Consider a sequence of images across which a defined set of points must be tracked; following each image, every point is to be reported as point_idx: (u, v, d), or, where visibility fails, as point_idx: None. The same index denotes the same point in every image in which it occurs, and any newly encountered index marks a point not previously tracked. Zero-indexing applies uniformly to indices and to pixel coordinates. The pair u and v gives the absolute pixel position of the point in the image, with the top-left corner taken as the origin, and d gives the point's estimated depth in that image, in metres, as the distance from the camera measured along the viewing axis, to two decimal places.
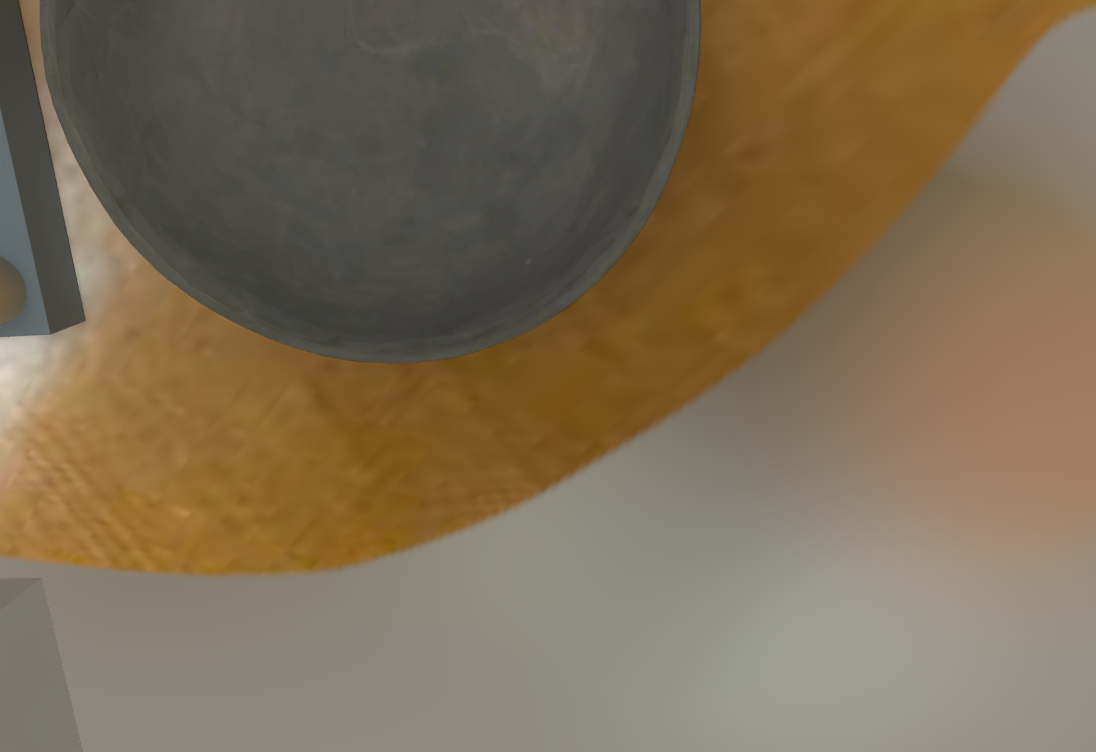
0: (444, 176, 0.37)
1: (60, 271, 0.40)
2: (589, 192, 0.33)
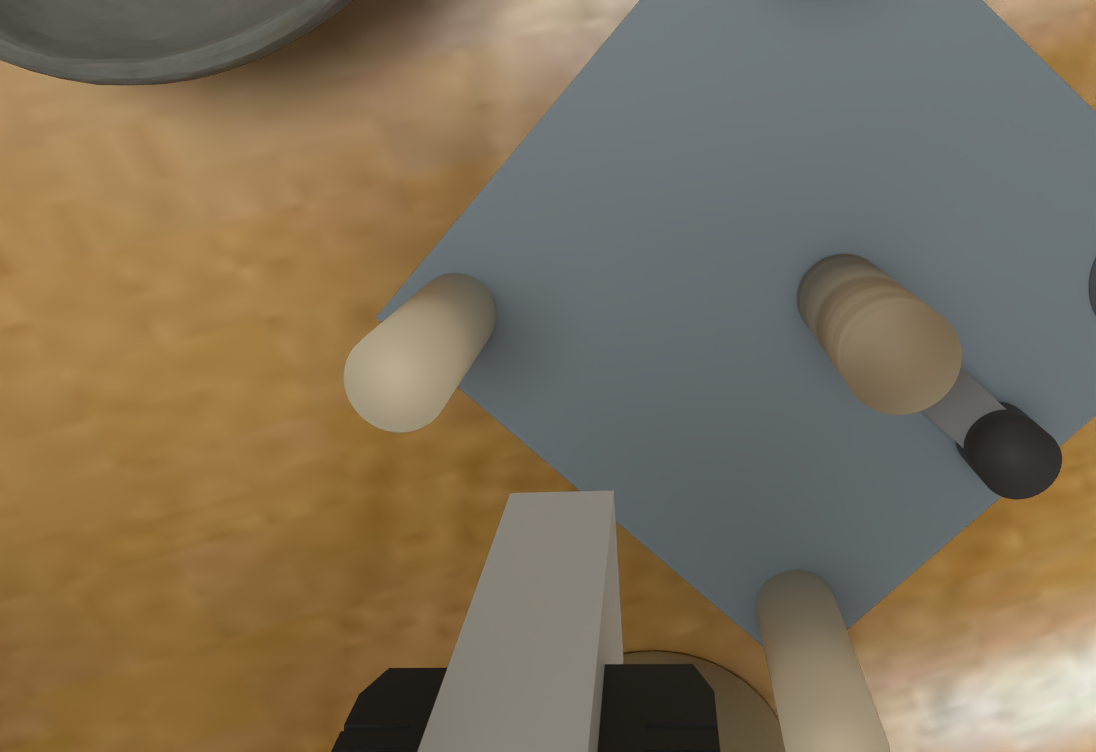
0: None
1: None
2: None
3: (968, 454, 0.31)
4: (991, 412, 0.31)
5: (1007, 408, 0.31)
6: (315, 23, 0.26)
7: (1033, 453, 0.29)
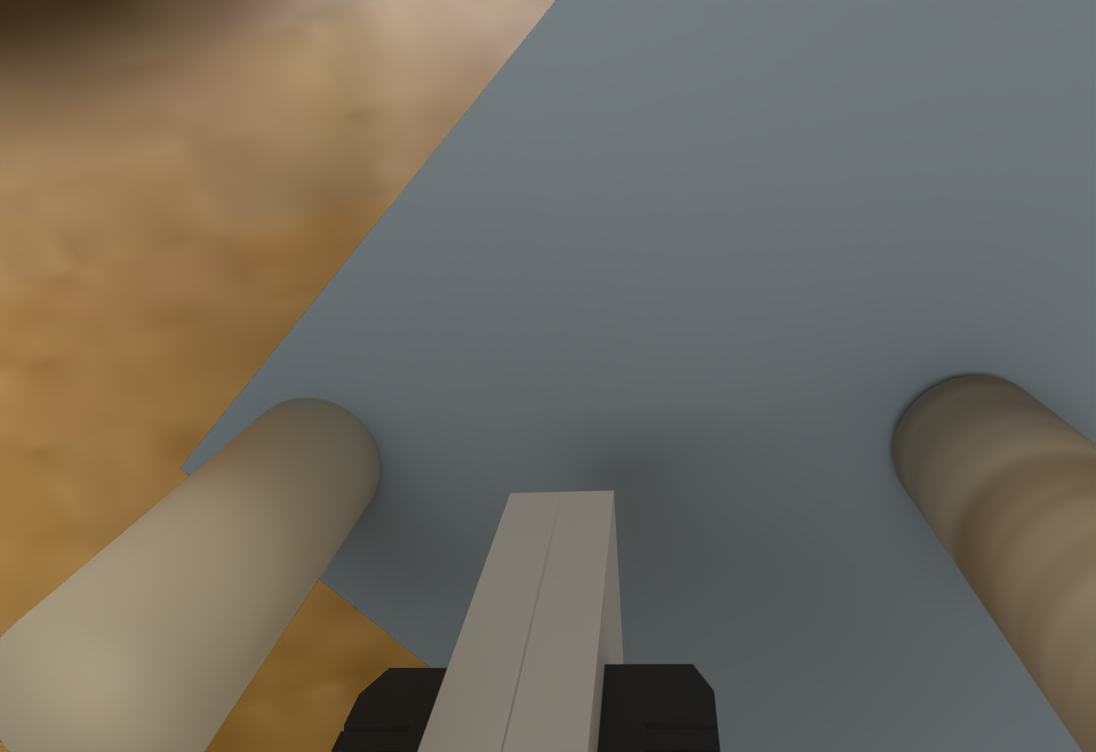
0: None
1: None
2: None
3: None
4: None
5: None
6: None
7: None
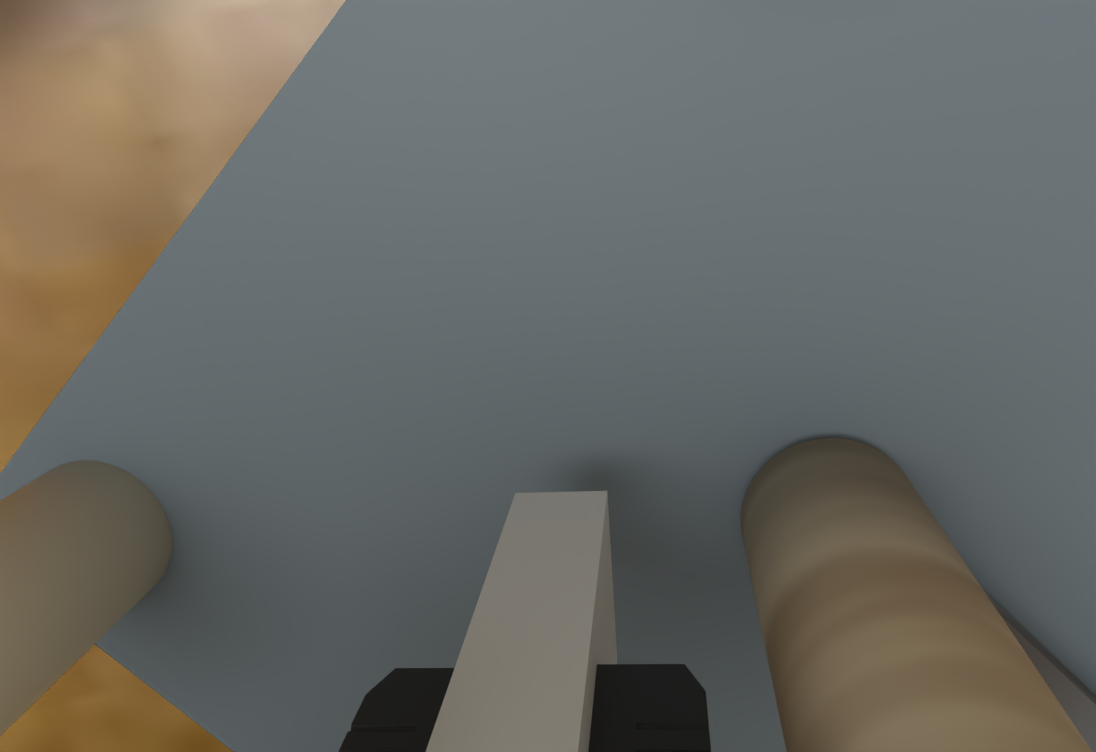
0: None
1: None
2: None
3: None
4: None
5: None
6: None
7: None
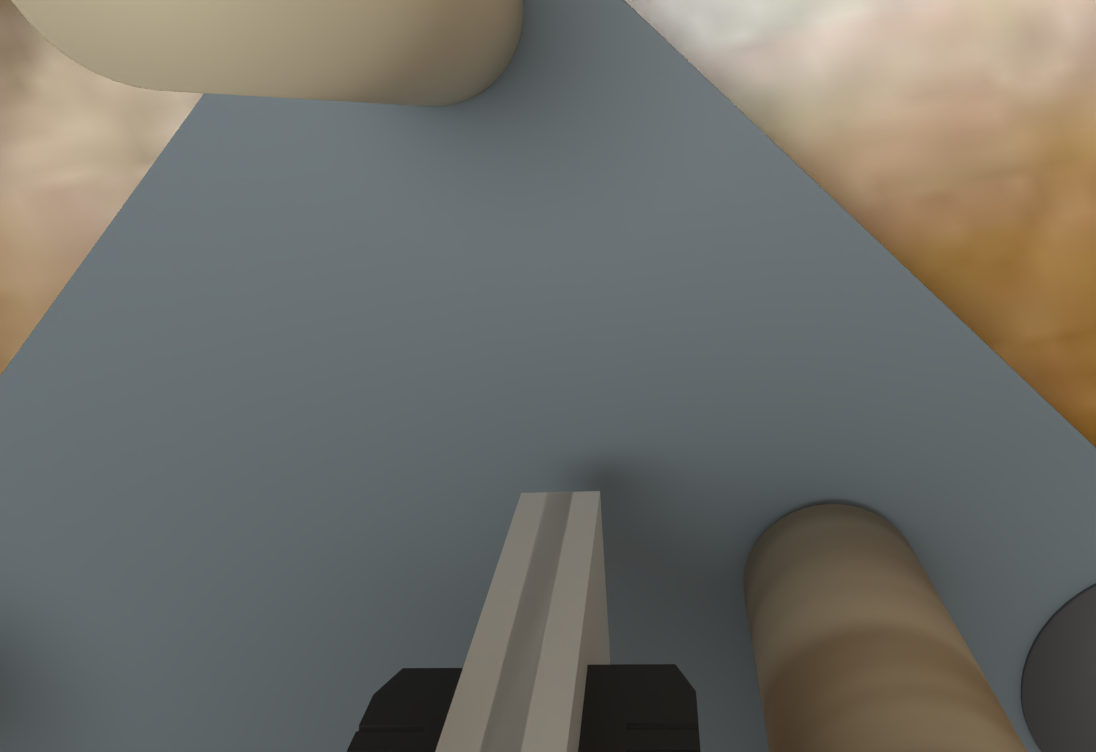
0: None
1: None
2: None
3: None
4: None
5: None
6: None
7: None
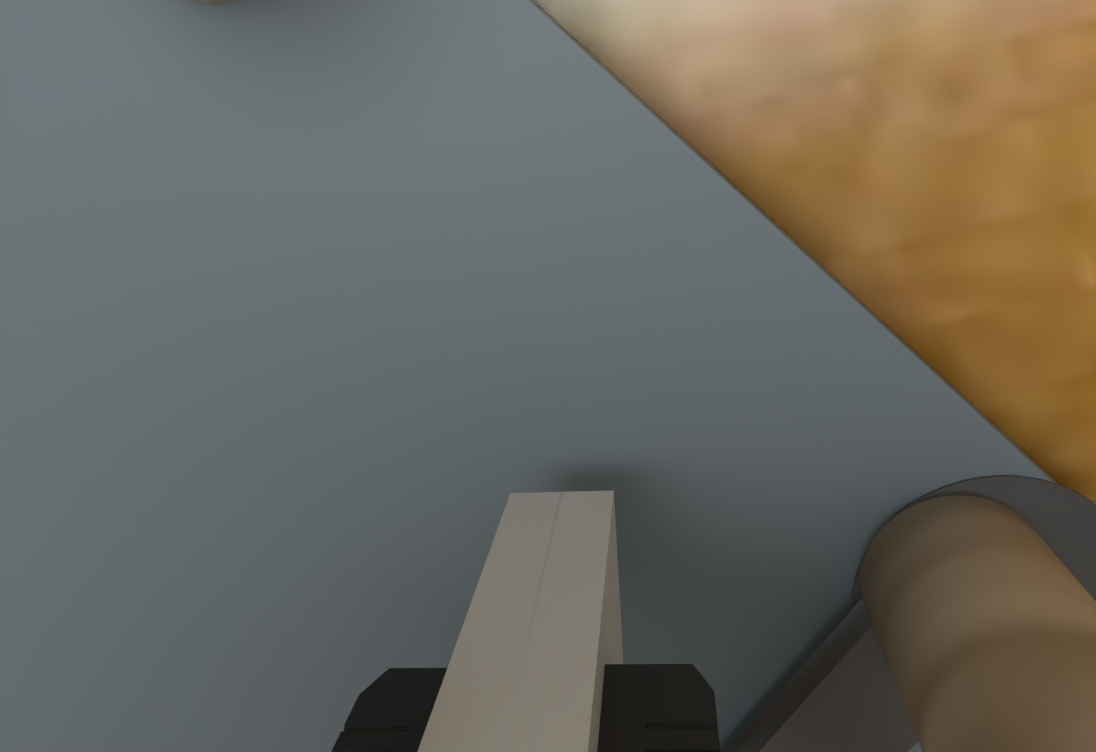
0: None
1: None
2: None
3: None
4: None
5: None
6: None
7: None
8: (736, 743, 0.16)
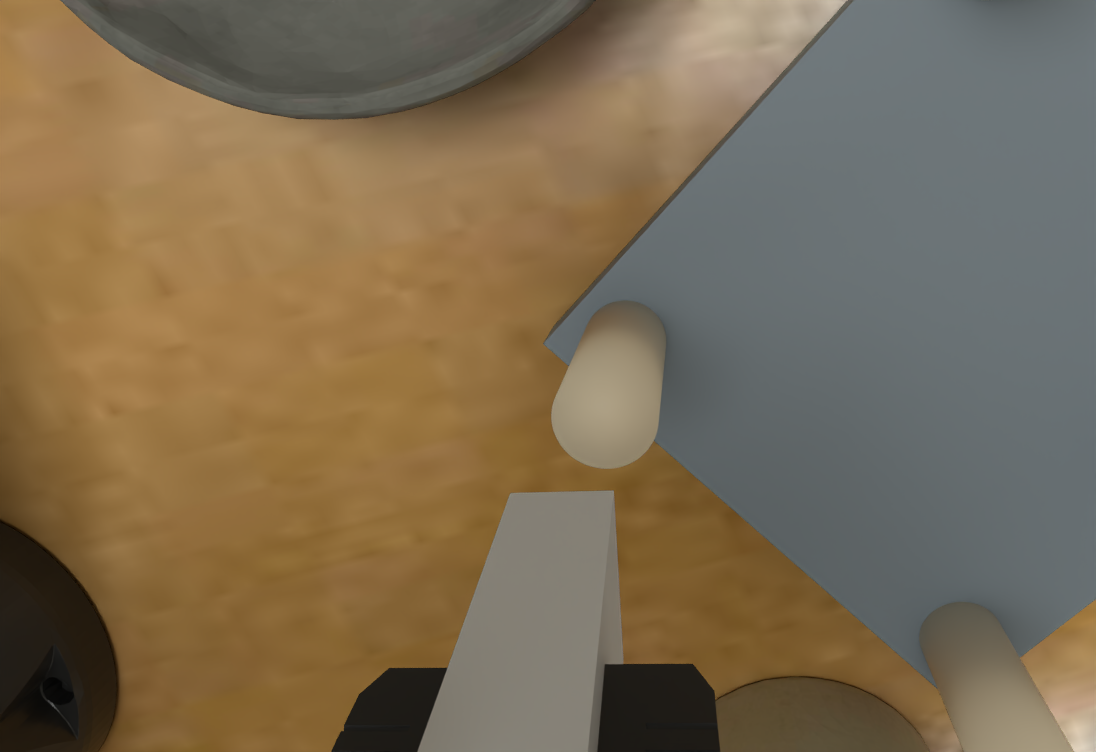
0: None
1: None
2: None
3: None
4: None
5: None
6: (520, 58, 0.26)
7: None
8: None
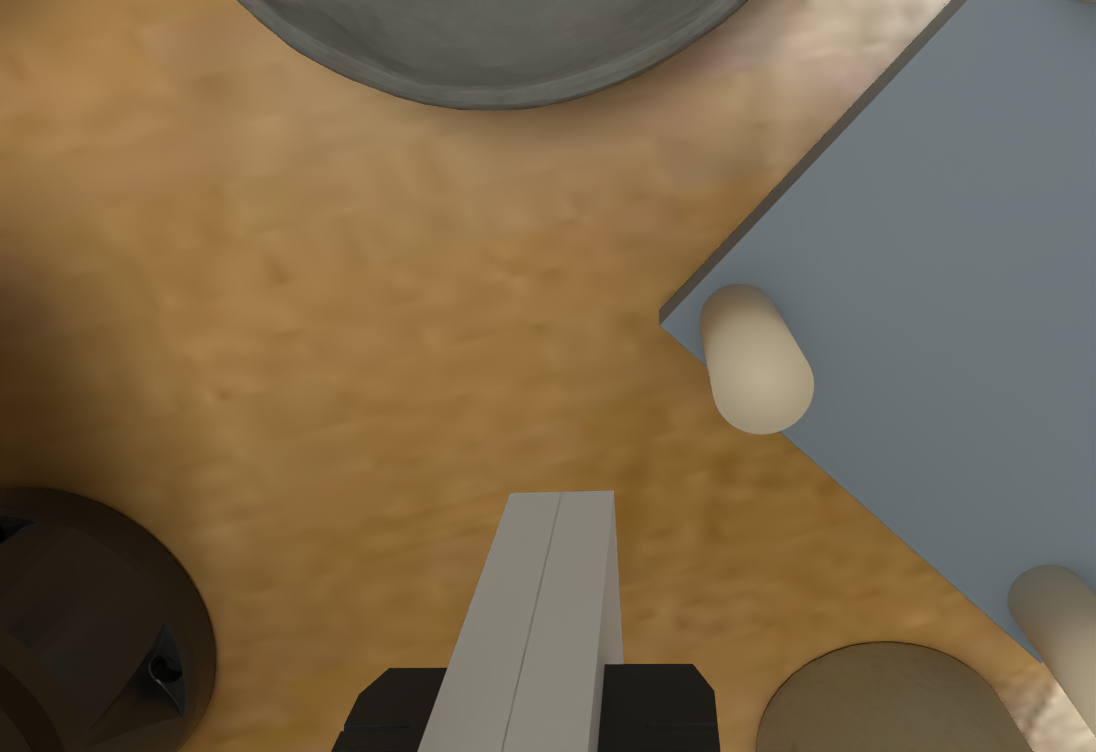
0: None
1: None
2: None
3: None
4: None
5: None
6: (676, 53, 0.28)
7: None
8: None
